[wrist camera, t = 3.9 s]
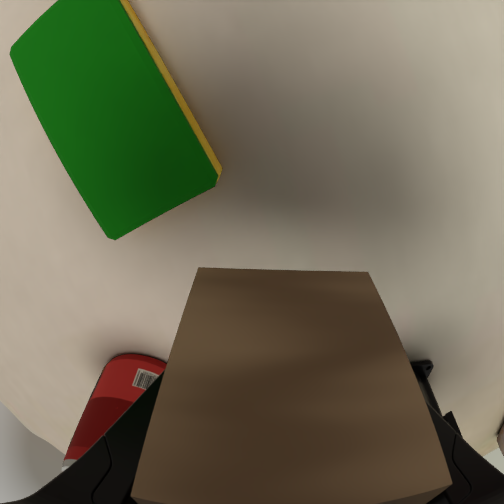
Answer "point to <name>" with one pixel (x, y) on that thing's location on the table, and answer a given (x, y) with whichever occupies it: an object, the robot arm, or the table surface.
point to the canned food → (112, 399)
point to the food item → (501, 439)
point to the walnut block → (288, 398)
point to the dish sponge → (113, 113)
